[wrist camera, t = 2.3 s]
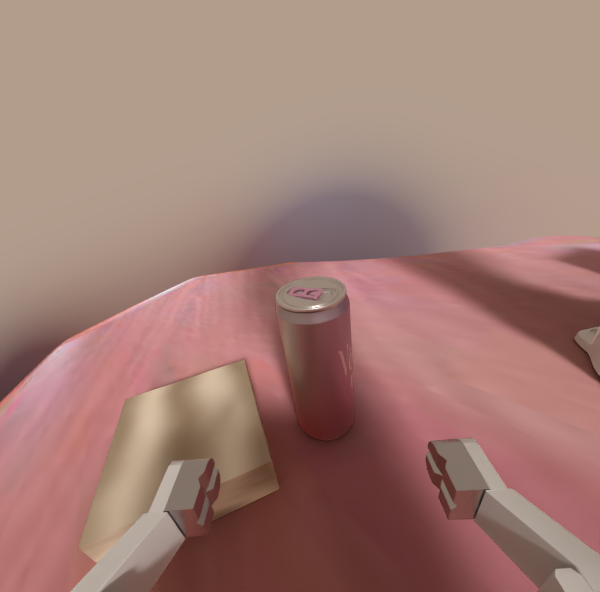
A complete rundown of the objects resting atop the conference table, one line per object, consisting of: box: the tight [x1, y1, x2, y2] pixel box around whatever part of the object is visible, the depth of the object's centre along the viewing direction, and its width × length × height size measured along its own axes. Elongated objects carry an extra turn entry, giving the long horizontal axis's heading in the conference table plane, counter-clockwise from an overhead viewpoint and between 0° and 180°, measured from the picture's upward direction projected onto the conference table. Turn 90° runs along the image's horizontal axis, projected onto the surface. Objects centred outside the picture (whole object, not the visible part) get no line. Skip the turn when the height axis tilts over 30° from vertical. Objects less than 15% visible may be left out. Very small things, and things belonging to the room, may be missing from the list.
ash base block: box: [78, 360, 280, 563], centre depth 25 cm, size 13×13×4 cm
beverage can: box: [275, 276, 355, 440], centre depth 24 cm, size 6×6×15 cm
